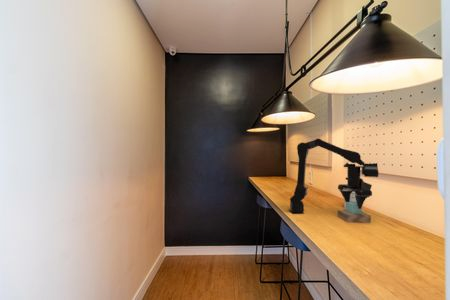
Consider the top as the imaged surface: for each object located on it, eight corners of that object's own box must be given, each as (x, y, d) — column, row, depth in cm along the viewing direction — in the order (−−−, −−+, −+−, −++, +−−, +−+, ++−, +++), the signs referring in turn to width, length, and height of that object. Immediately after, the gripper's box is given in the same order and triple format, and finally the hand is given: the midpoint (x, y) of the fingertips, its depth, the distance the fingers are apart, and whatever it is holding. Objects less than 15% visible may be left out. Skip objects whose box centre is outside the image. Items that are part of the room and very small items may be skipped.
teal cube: (351, 214, 111) (351, 204, 111) (345, 211, 116) (345, 201, 116) (361, 214, 112) (361, 204, 112) (354, 211, 117) (354, 201, 117)
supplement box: (349, 206, 142) (349, 186, 142) (362, 208, 136) (362, 188, 136) (344, 208, 137) (344, 187, 137) (357, 211, 131) (357, 189, 131)
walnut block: (348, 223, 110) (348, 215, 110) (338, 217, 120) (338, 209, 120) (370, 223, 109) (370, 215, 109) (358, 217, 119) (358, 210, 119)
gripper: (382, 178, 106) (382, 211, 106) (356, 174, 124) (356, 202, 124) (360, 178, 105) (360, 211, 105) (337, 174, 124) (337, 202, 123)
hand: (353, 206), depth 114 cm, fingers open, 9 cm apart
